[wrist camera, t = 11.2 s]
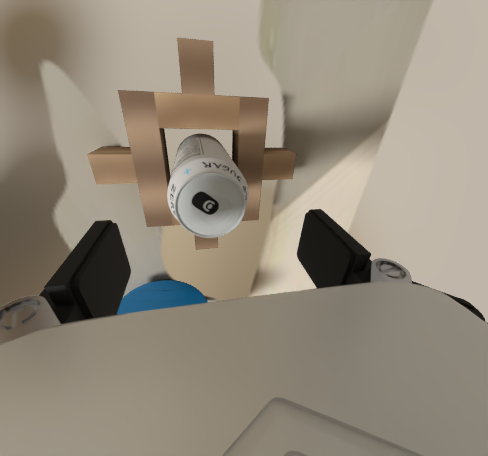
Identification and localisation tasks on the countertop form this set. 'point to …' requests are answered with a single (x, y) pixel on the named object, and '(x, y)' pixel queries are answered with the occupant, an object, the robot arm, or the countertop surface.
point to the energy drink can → (206, 188)
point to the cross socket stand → (189, 117)
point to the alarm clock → (160, 296)
